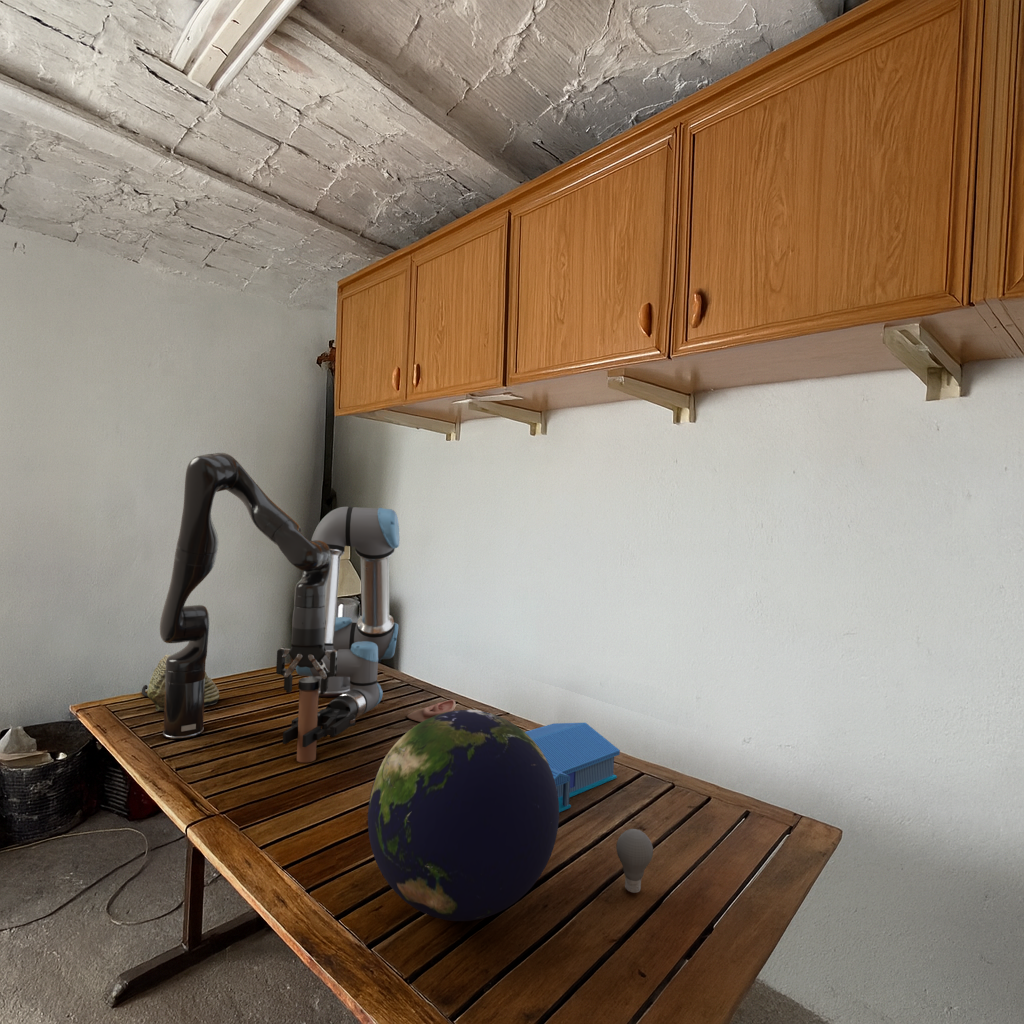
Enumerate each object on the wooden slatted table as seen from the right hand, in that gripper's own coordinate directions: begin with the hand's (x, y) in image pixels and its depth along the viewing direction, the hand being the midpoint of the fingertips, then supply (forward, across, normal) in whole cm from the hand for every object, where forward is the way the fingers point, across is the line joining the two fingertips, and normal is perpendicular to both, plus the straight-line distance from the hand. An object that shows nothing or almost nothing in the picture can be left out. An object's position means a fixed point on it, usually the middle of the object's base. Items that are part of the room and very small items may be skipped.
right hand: (294, 739), depth 147 cm
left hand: (-4, 0, +10) cm, 11 cm away
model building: (-10, -54, -7) cm, 56 cm away
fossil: (-25, +53, -7) cm, 59 cm away
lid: (-5, 0, +12) cm, 13 cm away
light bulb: (+22, -79, -7) cm, 83 cm away
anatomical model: (-44, -17, -7) cm, 47 cm away
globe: (+34, -53, -7) cm, 64 cm away
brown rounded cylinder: (-5, 0, -7) cm, 8 cm away
